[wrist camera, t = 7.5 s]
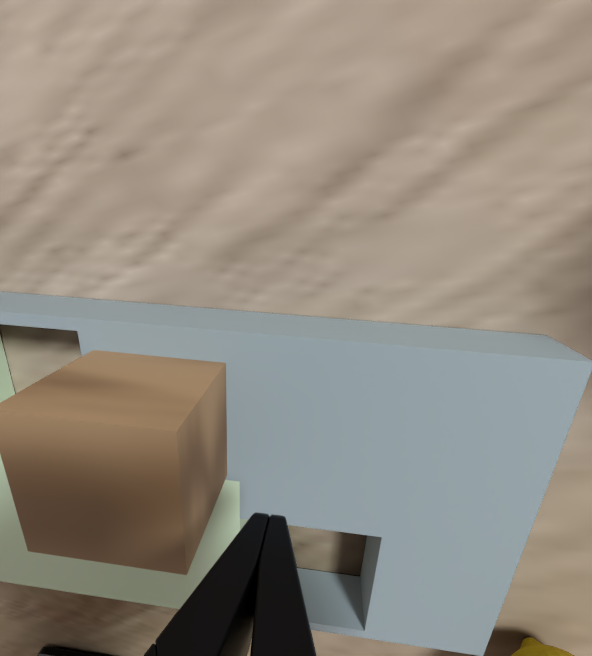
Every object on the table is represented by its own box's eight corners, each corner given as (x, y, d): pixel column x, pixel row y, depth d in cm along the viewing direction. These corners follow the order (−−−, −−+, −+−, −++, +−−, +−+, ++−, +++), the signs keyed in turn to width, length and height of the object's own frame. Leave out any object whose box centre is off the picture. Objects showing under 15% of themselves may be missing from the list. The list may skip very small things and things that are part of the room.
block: (227, 474, 13) (186, 575, 10) (110, 460, 14) (27, 551, 10) (226, 362, 12) (176, 431, 8) (93, 349, 12) (-12, 409, 8)
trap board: (462, 597, 18) (487, 670, 15) (-3, 531, 20) (-58, 583, 17) (546, 335, 13) (607, 369, 10) (-83, 284, 15) (-179, 301, 12)
